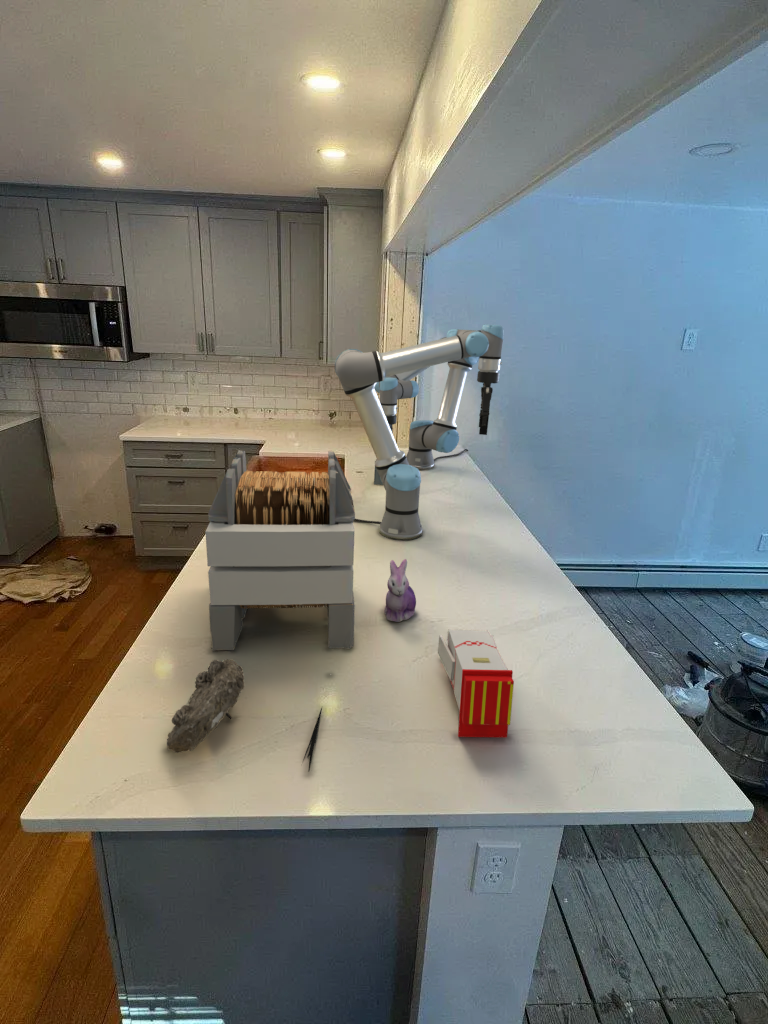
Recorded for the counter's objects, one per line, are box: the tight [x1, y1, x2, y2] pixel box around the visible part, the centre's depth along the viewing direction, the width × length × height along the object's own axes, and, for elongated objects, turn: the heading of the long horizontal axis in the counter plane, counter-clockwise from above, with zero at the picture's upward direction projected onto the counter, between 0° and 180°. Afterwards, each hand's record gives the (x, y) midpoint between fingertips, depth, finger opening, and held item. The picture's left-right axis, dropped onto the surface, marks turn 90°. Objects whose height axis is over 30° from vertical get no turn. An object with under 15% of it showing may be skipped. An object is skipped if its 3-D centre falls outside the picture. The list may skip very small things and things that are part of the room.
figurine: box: [384, 558, 417, 623], centre depth 145 cm, size 9×10×15 cm
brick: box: [373, 458, 384, 486], centre depth 255 cm, size 6×9×11 cm, turn 82°
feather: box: [301, 673, 332, 771], centre depth 108 cm, size 2×28×2 cm
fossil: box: [166, 658, 245, 754], centre depth 106 cm, size 22×10×15 cm
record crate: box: [204, 449, 356, 652], centre depth 138 cm, size 34×33×41 cm
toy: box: [437, 628, 515, 738], centre depth 117 cm, size 12×13×30 cm
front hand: (482, 430), depth 206 cm, fingers open, 13 cm apart
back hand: (386, 461), depth 253 cm, fingers open, 13 cm apart
